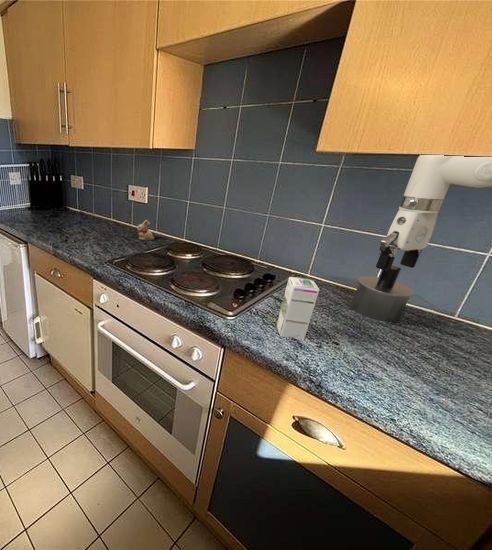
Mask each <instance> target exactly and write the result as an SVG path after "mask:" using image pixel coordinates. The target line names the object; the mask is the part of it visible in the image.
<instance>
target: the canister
mask: <svg viewBox="0 0 492 550" xmlns="http://www.w3.org/2000/svg"><path fill="white" fill-rule="evenodd" d="M409 299H410V297H407V298H401V297H393V296H388V295H383V294H380V293H376V292H374V291H371V290H368V289H366V288H364V287H362V286H361V285H360V284H359V283H358V285H357V288H356V290H355V293H354V295H353V297H352V301H351V303H350V306H349V307H350V310H352V311H354V312H356V313H358V314H359V315H361V316H362V317H366V318H368V319H372V320H375V321H379V322H382V323H391V324H397V323H398V322H399V321H400V319H401V316H402V315H403V312H404V310H405V308H406V306H407V304H408V302H409Z"/></svg>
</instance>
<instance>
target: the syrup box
mask: <svg viewBox="0 0 492 550" xmlns="http://www.w3.org/2000/svg"><path fill="white" fill-rule="evenodd" d="M319 293H320V288H319V286H318V285H317V283H316V282H315V281H314V279H310V278H306V277H297V276H289V277H288V280H287V283H286V287H285V291H284V295H283V298H282V302H281V306H280V310H279V314H278V318H277V321H276V329H277V332H278V335H279V337H280V338H284V339H285V338H287V337H288V338H292V339H298V340H305V338H306V335H307V331H308V328H309V325H310V322H311V319H312V315H313V312H314V309H315V307H316V302H317V299H318V296H319Z"/></svg>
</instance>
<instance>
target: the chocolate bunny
mask: <svg viewBox="0 0 492 550" xmlns="http://www.w3.org/2000/svg"><path fill="white" fill-rule="evenodd" d="M149 226H151V222H150V221H149V220H148V219H145V220H144V221H143V222H142V223H140V224H138V225H137V228H136V229H137V232H138V240H140V241H141V240H142V241H154V240H155V236H154V234H153V233H152V232H151V230H149Z"/></svg>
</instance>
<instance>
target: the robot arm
mask: <svg viewBox="0 0 492 550" xmlns="http://www.w3.org/2000/svg"><path fill="white" fill-rule="evenodd" d="M451 185H457V186H463V187H467V188H475V189H477V188H478V189H479V188H480V189H481V188H489V187H492V157H464V156H444V155H421V154H420V155H418V157H417V158H416V161H415V164H414V165H413V169H412V172H411V174H410V178H409V180H408V182H407V185H406V188H405V190H404V194H403V196H402V198H401V201H400V204H399V206H398V211H397V213H396V215H395V216H394V219H393V221H392V223H391V224H390V227H389V229H388V232H387V234H386V236H385V237H384V238H382V239H381V240H380V247H379V257H378V260H377V263H376V265H375V268H376V269H378V270H381V271H382V270H384V271H390V268H391V266H393V264H394V261H395V259H396V257H395V255H396V254H397V253H398V252H399V251H400V250H401V251H403V254H402V258H401V261H400V263H399V264H400V265H401V266H405V267H408V268H415V267H416V264H417V262H418V259H419V258H420V254H422V252H423V249H425V248H427V247H428V245H429V243H430V241H431V238H432V235H433V232H434V229H435V226H436V224H437V223H436V222H437V219H438V214H439V212H440V209H441V207H442V204H443V202H444V199H445V197H446V195H447V193H448V191H449V188H450V186H451Z"/></svg>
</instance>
